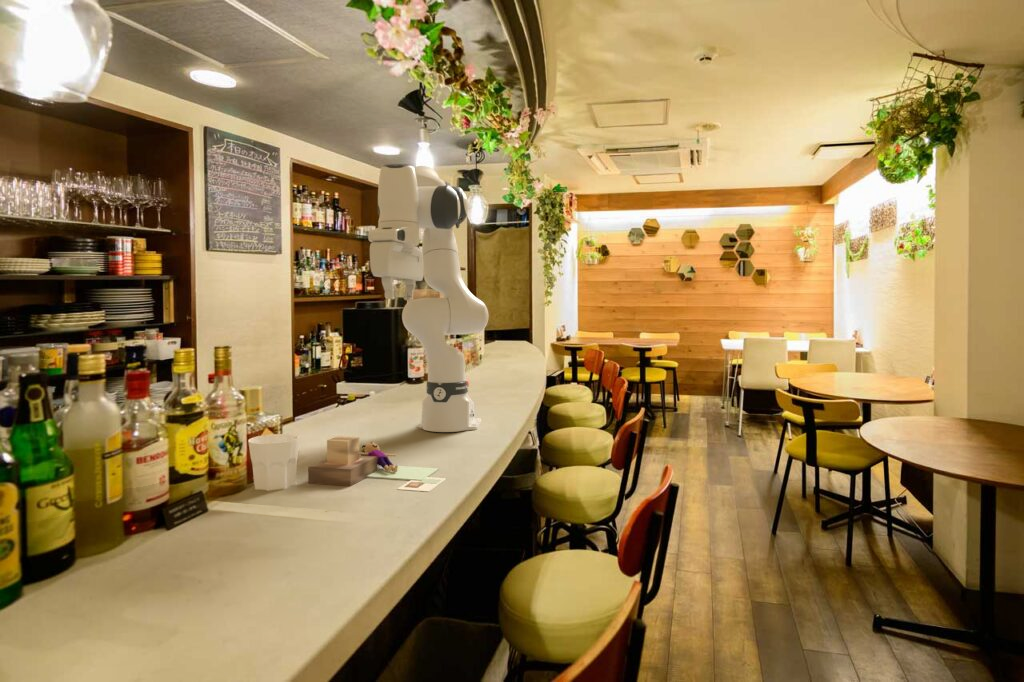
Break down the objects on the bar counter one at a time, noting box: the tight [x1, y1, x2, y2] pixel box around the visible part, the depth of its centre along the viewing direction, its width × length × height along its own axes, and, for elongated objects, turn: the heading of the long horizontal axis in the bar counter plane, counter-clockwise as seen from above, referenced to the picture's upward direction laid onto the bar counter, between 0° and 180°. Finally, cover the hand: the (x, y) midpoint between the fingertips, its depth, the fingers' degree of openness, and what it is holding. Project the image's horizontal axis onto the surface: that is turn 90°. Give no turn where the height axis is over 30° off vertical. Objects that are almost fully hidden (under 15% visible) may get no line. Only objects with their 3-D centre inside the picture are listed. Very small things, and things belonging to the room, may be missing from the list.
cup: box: [247, 433, 301, 492], centre depth 128 cm, size 10×10×10 cm
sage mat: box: [367, 465, 440, 481], centre depth 137 cm, size 10×14×1 cm
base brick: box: [307, 455, 378, 487], centre depth 134 cm, size 12×10×4 cm
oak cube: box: [326, 435, 360, 464], centre depth 134 cm, size 5×5×5 cm
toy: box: [359, 441, 399, 473], centre depth 142 cm, size 10×6×15 cm
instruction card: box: [397, 476, 447, 493], centre depth 129 cm, size 10×7×1 cm
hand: (399, 299), depth 136 cm, fingers open, 8 cm apart
